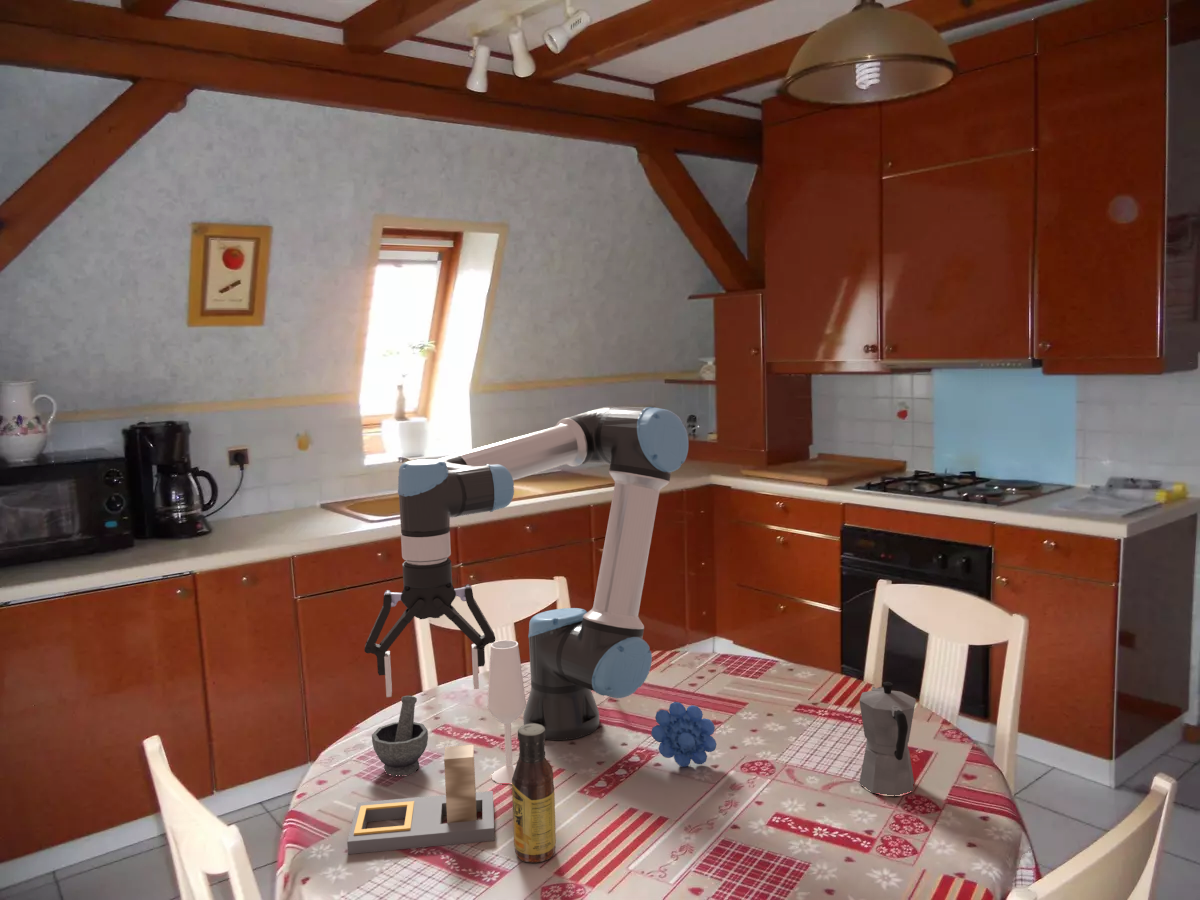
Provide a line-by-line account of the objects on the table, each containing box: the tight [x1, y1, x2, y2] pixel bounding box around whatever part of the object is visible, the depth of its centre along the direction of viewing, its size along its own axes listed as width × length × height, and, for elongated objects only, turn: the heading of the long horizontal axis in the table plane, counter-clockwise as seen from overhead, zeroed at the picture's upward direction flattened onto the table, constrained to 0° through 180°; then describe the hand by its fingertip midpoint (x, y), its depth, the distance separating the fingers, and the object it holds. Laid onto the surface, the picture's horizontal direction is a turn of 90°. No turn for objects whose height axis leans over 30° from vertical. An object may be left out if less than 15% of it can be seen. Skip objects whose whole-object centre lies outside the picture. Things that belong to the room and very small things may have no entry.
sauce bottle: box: [511, 724, 557, 864], centre depth 137 cm, size 6×6×20 cm
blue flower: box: [650, 701, 717, 768], centre depth 163 cm, size 12×7×12 cm, turn 93°
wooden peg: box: [443, 744, 478, 823], centre depth 147 cm, size 4×4×12 cm
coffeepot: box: [858, 681, 917, 796], centre depth 154 cm, size 15×9×18 cm, turn 179°
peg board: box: [346, 790, 496, 855], centre depth 147 cm, size 22×12×2 cm, turn 97°
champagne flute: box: [487, 639, 527, 783], centre depth 162 cm, size 7×7×24 cm
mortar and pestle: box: [371, 695, 429, 777], centre depth 167 cm, size 11×9×12 cm
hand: (433, 690), depth 147 cm, fingers open, 13 cm apart
